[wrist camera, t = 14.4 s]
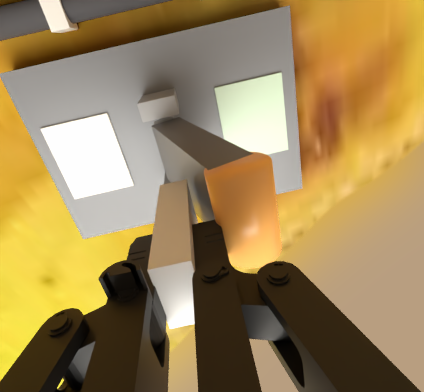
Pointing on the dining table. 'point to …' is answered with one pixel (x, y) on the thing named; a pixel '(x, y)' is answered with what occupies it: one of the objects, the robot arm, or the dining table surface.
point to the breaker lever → (225, 188)
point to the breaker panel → (159, 112)
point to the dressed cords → (59, 14)
